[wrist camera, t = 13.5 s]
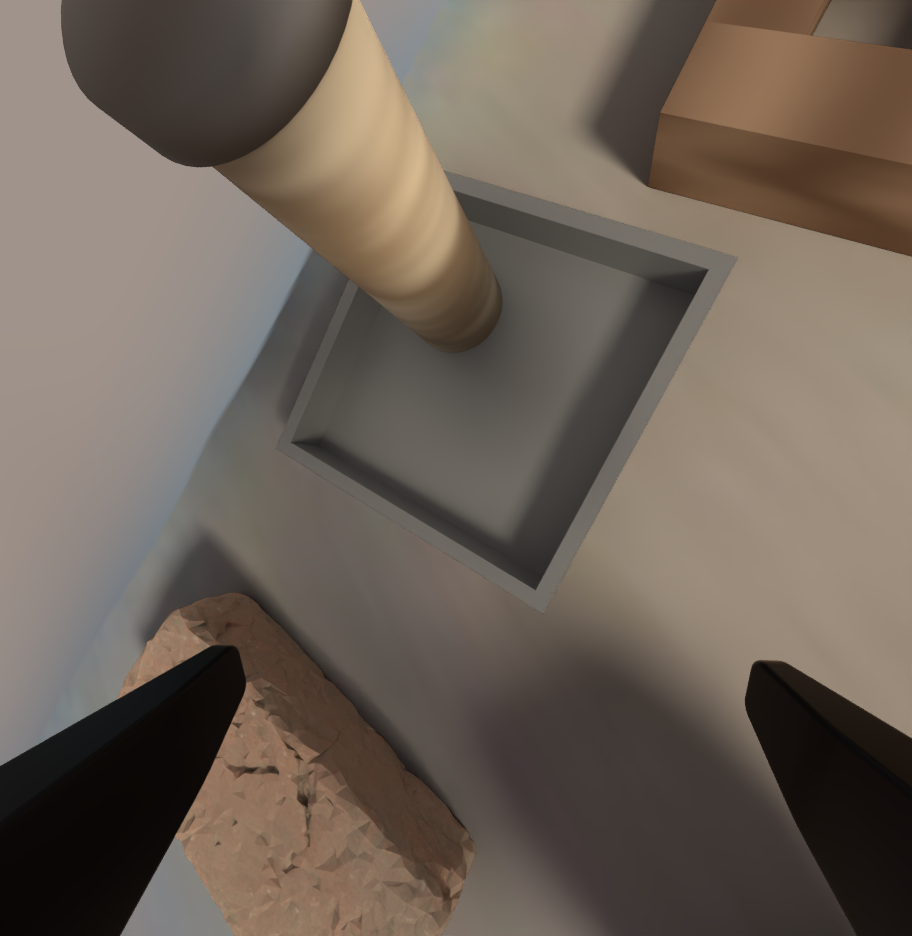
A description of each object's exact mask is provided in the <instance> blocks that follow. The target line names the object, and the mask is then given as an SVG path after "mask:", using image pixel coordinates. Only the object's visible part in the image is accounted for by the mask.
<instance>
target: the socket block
mask: <svg viewBox="0 0 912 936" xmlns="http://www.w3.org/2000/svg"><path fill="white" fill-rule="evenodd" d="M830 2H831V0H716V2H715V4H714V6H713V8H712V10H711V12H710V14H709V16H708V18H707V20H706V22H705V24H704V26H703V28H702V30H701V32H700V34H699V36H698V38H697V40H696V42H695V44H694V46H693V48H692V50H691V52H690V54H689V56H688V58H687V60H686V62H685V64H684V66H683V68H682V70H681V72H680V74H679V76H678V78H677V80H676V82H675V84H674V86H673V88H672V90H671V92H670V94H669V96H668V98H667V100H666V102H665V104H664V106H663V108H662V110H661V112H660V117H659V123H658V129H657V135H656V141H655V147H654V153H653V159H652V165H651V171H650V176H649V182H648V187H651V188H655V189H659V190H663V191H666V192H670V193H674V194H678V195H682V196H685V197H689V198H693V199H697V200H701V201H704V202H708V203H712V204H716V205H720V206H723V207H727V208H731V209H735V210H739V211H742V212H746V213H750V214H754V215H757V216H761V217H765V218H769V219H773V220H776V221H780V222H784V223H788V224H792V225H795V226H799V227H803V228H807V229H811V230H814V231H818V232H822V233H826V234H830V235H833V236H837V237H841V238H845V239H849V240H852V241H856V242H860V243H864V244H868V245H871V246H875V247H879V248H883V249H887V250H890V251H894V252H898V253H902V254H906V255H909V256H912V50H911V49H904V48H897V47H889V46H882V45H875V44H868V43H860V42H853V41H846V40H839V39H832V38H824V37H817V36H812V35H813V34H814V32H815V30H816V28H817V26H818V24H819V22H820V20H821V19H822V17H823V15H824V13H825V11H826V9H827V7H828V5H829V4H830Z"/></svg>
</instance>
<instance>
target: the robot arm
mask: <svg viewBox="0 0 912 936" xmlns="http://www.w3.org/2000/svg"><path fill="white" fill-rule="evenodd" d="M245 689H246V676H245V672H244V668H243V664H242V660H241V656H240V652H239V649H238V648H237V647H236V646H234V645H219V644H217V645H212V646H210V647H208V648H206V649H205V650H203V651H201V652H199V653H198V654H196V655H194V656H192V657H191V658H189V659H187V660H185V661H184V662H182V663H180V664H178V665H177V666H175V667H173V668H171V669H170V670H168V671H166V672H164V673H163V674H161V675H159V676H157V677H156V678H154V679H152V680H150V681H149V682H147V683H145V684H143V685H142V686H140V687H138V688H136V689H134V690H133V691H131V692H129V693H127V694H126V695H124V696H122V697H120V698H119V699H117V700H115V701H113V702H112V703H110V704H108V705H106V706H105V707H103V708H101V709H99V710H98V711H96V712H94V713H92V714H91V715H89V716H87V717H85V718H84V719H82V720H80V721H78V722H77V723H75V724H73V725H71V726H70V727H68V728H66V729H64V730H63V731H61V732H59V733H57V734H56V735H54V736H52V737H50V738H49V739H47V740H45V741H43V742H42V743H40V744H38V745H36V746H35V747H33V748H31V749H29V750H28V751H26V752H24V753H22V754H21V755H19V756H17V757H16V758H14V759H12V760H10V761H8V762H7V763H5V764H3V765H1V766H0V936H120V935H121V933H122V931H123V930H124V928H125V926H126V924H127V922H128V921H129V919H130V917H131V915H132V913H133V911H134V910H135V908H136V906H137V904H138V902H139V901H140V899H141V897H142V895H143V893H144V892H145V890H146V888H147V886H148V884H149V882H150V881H151V879H152V877H153V875H154V873H155V872H156V870H157V868H158V866H159V864H160V863H161V861H162V859H163V857H164V855H165V853H166V852H167V850H168V848H169V846H170V844H171V843H172V841H173V839H174V837H175V835H176V834H177V832H178V830H179V828H180V826H181V824H182V823H183V821H184V819H185V817H186V815H187V814H188V812H189V810H190V808H191V806H192V805H193V803H194V801H195V799H196V797H197V795H198V793H199V791H200V790H201V788H202V786H203V784H204V782H205V780H206V778H207V776H208V773H209V771H210V769H211V767H212V765H213V763H214V760H215V758H216V756H217V754H218V752H219V749H220V747H221V745H222V743H223V740H224V738H225V736H226V734H227V731H228V729H229V727H230V725H231V723H232V720H233V718H234V716H235V714H236V711H237V709H238V707H239V705H240V702H241V700H242V698H243V696H244V693H245ZM745 707H746V711H747V714H748V717H749V719H750V721H751V724H752V726H753V728H754V731H755V733H756V735H757V737H758V740H759V742H760V744H761V746H762V749H763V751H764V753H765V756H766V758H767V760H768V762H769V765H770V767H771V769H772V772H773V774H774V776H775V778H776V781H777V783H778V785H779V787H780V790H781V792H782V794H783V797H784V799H785V801H786V803H787V805H788V808H789V810H790V812H791V814H792V816H793V818H794V820H795V822H796V824H797V826H798V828H799V830H800V832H801V834H802V836H803V838H804V840H805V842H806V843H807V845H808V847H809V849H810V851H811V853H812V854H813V856H814V858H815V860H816V862H817V864H818V866H819V867H820V869H821V871H822V873H823V875H824V877H825V878H826V880H827V882H828V884H829V886H830V888H831V889H832V891H833V893H834V895H835V897H836V899H837V900H838V902H839V904H840V906H841V908H842V910H843V911H844V913H845V915H846V917H847V919H848V921H849V922H850V924H851V926H852V928H853V930H854V932H855V933H856V935H857V936H912V738H910V737H909V736H907V735H905V734H904V733H902V732H900V731H899V730H897V729H895V728H894V727H892V726H891V725H889V724H887V723H886V722H884V721H882V720H881V719H879V718H877V717H876V716H874V715H872V714H871V713H869V712H867V711H866V710H864V709H862V708H861V707H859V706H857V705H856V704H854V703H852V702H851V701H849V700H847V699H846V698H844V697H842V696H841V695H839V694H837V693H836V692H834V691H832V690H831V689H829V688H827V687H826V686H824V685H822V684H821V683H819V682H817V681H816V680H814V679H812V678H811V677H809V676H807V675H806V674H804V673H803V672H801V671H799V670H798V669H796V668H794V667H793V666H791V665H789V664H787V663H785V662H783V661H769V660H758V661H756V662H754V664H753V665H752V668H751V672H750V677H749V681H748V686H747V691H746V696H745Z"/></svg>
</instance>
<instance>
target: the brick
mask: <svg viewBox="0 0 912 936" xmlns="http://www.w3.org/2000/svg"><path fill="white" fill-rule="evenodd" d="M217 644H219V645H234V646H236V647H237V648H238V649H239V652H240V656H241V660H242V664H243V668H244V672H245V676H246V689H245V693H244V696H243V698H242V700H241V702H240V705H239V707H238V709H237V711H236V714H235V716H234V718H233V720H232V723H231V725H230V727H229V729H228V731H227V734H226V736H225V738H224V740H223V743H222V745H221V747H220V749H219V752H218V754H217V756H216V758H215V760H214V763H213V765H212V767H211V769H210V771H209V773H208V776H207V778H206V780H205V782H204V784H203V786H202V788H201V790H200V791H199V793H198V795H197V797H196V799H195V801H194V803H193V805H192V806H191V808H190V810H189V812H188V814H187V815H186V817H185V819H184V821H183V823H182V824H181V826H180V828H179V830H178V832H177V834H176V835H175V838H177V839H179V840H180V841H182V845H183V848H184V852H185V856H186V857H187V858H188V859H189V860H190V861H191V862H192V863H193V866H194V868H195V870H196V872H197V874H198V875H199V877H200V879H201V880H202V882H203V883H204V885H205V887H206V888H207V890H208V891H209V893H210V895H211V896H212V898H213V900H214V901H215V903H216V904H217V905H218V906H219V907H220V908H221V910H222V912H223V915H224V918H225V920H226V921H227V923H228V924H229V925H230V927H231V929H232V931H233V932H234V934H235V936H441V934H442V933H443V932H444V930H445V928H446V926H447V924H448V922H449V920H450V916H451V915H452V912H453V910H454V908H455V906H456V904H457V902H458V900H459V898H460V894H461V891H462V888H463V885H464V881H465V878H466V876H467V875H468V873H469V870H470V867H471V864H472V861H473V858H474V855H475V846H474V842H473V841H472V839H471V838H470V837H469V835H468V832H467V831H466V830H465V829H464V828H463V827H462V826H461V825H460V824H459V822H458V821H457V820H456V819H455V818H454V817H453V816H452V813H451V812H450V810H449V809H448V807H447V806H446V805H445V804H444V803H443V802H442V801H441V800H440V799H439V798H438V797H437V796H436V795H435V794H434V793H433V792H432V791H431V790H430V789H429V788H428V787H427V786H426V785H425V784H424V783H423V782H422V781H421V780H420V779H419V778H418V777H416V776H414V775H413V774H411V773H410V772H408V771H405V766H404V765H403V763H402V762H401V761H400V760H399V758H398V757H397V755H396V754H395V753H394V751H393V750H392V748H391V747H390V746H389V744H388V743H387V742H386V741H385V739H384V738H383V737H381V736H379V735H378V734H377V733H376V731H375V730H374V729H373V728H372V727H371V726H370V725H368V724H367V723H366V722H365V721H364V720H363V718H362V717H361V716H360V715H359V713H358V712H357V710H356V708H355V706H354V705H353V704H352V703H351V702H350V701H349V700H348V699H347V698H346V697H345V696H344V695H343V694H342V693H341V692H340V691H339V690H338V689H337V687H336V686H335V685H334V684H333V683H332V682H330V681H328V680H327V679H325V678H324V675H323V672H322V671H321V669H320V668H319V667H318V666H317V665H316V664H315V663H314V662H313V661H312V659H311V658H310V657H308V656H307V655H306V654H305V653H304V652H303V650H302V649H301V648H300V647H299V646H298V644H297V643H296V642H295V641H294V640H293V639H292V638H291V637H290V636H289V635H288V634H287V633H286V631H285V630H284V629H283V628H282V627H281V626H280V625H279V624H277V623H276V622H275V621H274V620H273V619H272V618H271V617H270V616H269V615H268V614H266V613H265V612H264V611H263V610H262V609H261V608H260V607H259V605H258V604H257V603H256V602H254V601H253V600H252V599H251V598H249V597H248V596H245V595H243V594H240V593H232V592H231V593H227V594H223V595H220V596H217V597H206V598H204V599H201V600H198V601H196V602H194V603H192V605H189V606H185V607H182V608H180V609H177V610H174V611H173V612H172V613H171V614H170V615H169V616H168V617H167V618H166V620H165V621H164V622H163V624H162V625H161V627H160V628H159V630H158V632H157V633H156V635H155V637H153V638H152V639H150V640H149V641H148V642H147V645H146V647H145V649H144V650H143V652H142V654H141V655H140V657H139V659H138V660H137V662H136V663H135V665H134V666H133V668H132V669H131V671H130V672H129V674H128V675H127V677H126V679H125V681H124V684H123V687H122V690H121V692H120V694H119V696H118V698H117V699H119V698H120V697H122V696H124V695H126V694H127V693H129V692H131V691H133V690H134V689H136V688H138V687H140V686H142V685H143V684H145V683H147V682H149V681H150V680H152V679H154V678H156V677H157V676H159V675H161V674H163V673H164V672H166V671H168V670H170V669H171V668H173V667H175V666H177V665H178V664H180V663H182V662H184V661H185V660H187V659H189V658H191V657H192V656H194V655H196V654H198V653H199V652H201V651H203V650H205V649H206V648H208V647H210V646H212V645H217Z"/></svg>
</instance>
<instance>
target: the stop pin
mask: <svg viewBox="0 0 912 936" xmlns="http://www.w3.org/2000/svg"><path fill="white" fill-rule="evenodd" d="M61 27H62V36H63V44H64V49H65V54H66V58H67V62H68V64H69V67H70V70H71V73H72V75H73V77H74V79H75V81H76V83H77V84H78V86H79V88H80V89H81V91H82V92H83V93H84V94H85V96H86V97H87V98H88V99H89V100H90V101H91V102H92V103H94V104H95V105H96V106H97V107H98V108H100V109H101V110H102V111H104V112H105V113H106V114H108V115H109V116H111V117H112V118H113V119H114V120H116V121H117V122H118V123H120V124H121V125H122V126H124V127H125V128H126V129H128V130H129V131H130V132H132V133H133V134H134V135H136V136H137V137H138V138H140V139H141V140H142V141H144V142H145V143H146V144H148V145H149V146H150V147H152V148H153V149H154V150H156V151H157V152H158V153H160V154H161V155H162V156H164V157H166V158H167V159H169V160H171V161H173V162H175V163H179V164H182V165H185V166H192V167H211V166H212V167H213V168H215V169H216V170H217V171H218V172H220V173H221V174H222V175H223V176H225V177H226V178H227V179H228V180H229V181H231V182H232V183H233V184H234V185H236V186H237V187H238V188H239V189H240V190H242V191H243V192H244V193H245V194H247V195H248V196H249V197H250V198H251V199H253V200H254V201H255V202H256V203H257V204H259V205H260V206H261V207H262V208H264V209H265V210H266V211H267V212H268V213H270V214H271V215H272V216H273V217H275V218H276V219H277V220H278V221H279V222H281V223H282V224H283V225H284V226H286V227H287V228H288V229H289V230H290V231H292V232H293V233H294V234H295V235H297V236H298V237H299V238H300V239H301V240H303V241H304V242H305V243H307V245H309V246H310V247H311V248H312V249H314V250H315V251H316V252H317V253H318V254H320V255H321V256H322V257H323V258H325V259H326V260H327V261H328V262H329V263H331V264H332V265H333V266H334V267H336V268H337V269H338V270H339V271H340V272H342V273H343V274H344V275H345V276H346V277H348V278H349V279H350V280H351V281H353V282H354V283H355V284H356V285H357V286H359V287H360V288H361V289H362V290H364V291H365V292H366V293H367V294H368V295H370V296H371V297H372V298H373V299H375V300H376V301H377V302H378V303H379V304H381V305H382V306H383V307H384V308H386V309H387V310H388V311H389V312H390V313H392V314H393V315H394V316H395V317H397V318H398V319H399V320H400V321H401V322H403V323H404V324H405V325H406V326H407V327H409V328H410V329H411V330H412V331H414V332H415V333H416V334H417V335H418V336H420V337H421V338H422V339H423V340H425V341H426V342H427V343H428V344H429V345H431V346H432V347H434V348H436V349H438V350H440V351H444V352H450V353H455V352H463V351H466V350H469V349H471V348H474V347H475V346H477V345H479V344H480V343H481V342H483V341H484V340H485V339H486V338H487V337H488V336H489V335H490V334H491V332H492V331H493V330H494V328H495V326H496V325H497V322H498V320H499V318H500V314H501V310H502V301H503V300H502V292H501V287H500V285H499V282H498V280H497V278H496V276H495V274H494V272H493V270H492V268H491V266H490V264H489V262H488V260H487V258H486V256H485V254H484V252H483V250H482V248H481V246H480V244H479V242H478V240H477V238H476V236H475V234H474V232H473V230H472V227H471V225H470V223H469V221H468V219H467V217H466V215H465V213H464V211H463V209H462V207H461V205H460V203H459V201H458V199H457V197H456V195H455V193H454V191H453V189H452V187H451V185H450V183H449V181H448V179H447V177H446V175H445V173H444V171H443V169H442V167H441V165H440V163H439V161H438V159H437V157H436V154H435V152H434V150H433V148H432V146H431V144H430V142H429V140H428V138H427V136H426V134H425V132H424V130H423V128H422V126H421V124H420V122H419V120H418V118H417V116H416V114H415V112H414V110H413V108H412V106H411V104H410V102H409V100H408V98H407V96H406V94H405V92H404V90H403V88H402V86H401V84H400V81H399V79H398V77H397V75H396V73H395V71H394V69H393V67H392V65H391V63H390V61H389V59H388V57H387V55H386V53H385V51H384V49H383V47H382V45H381V43H380V41H379V39H378V37H377V35H376V33H375V31H374V29H373V27H372V25H371V23H370V21H369V19H368V17H367V15H366V13H365V11H364V8H363V6H362V5H361V2H360V0H62V5H61Z"/></svg>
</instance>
